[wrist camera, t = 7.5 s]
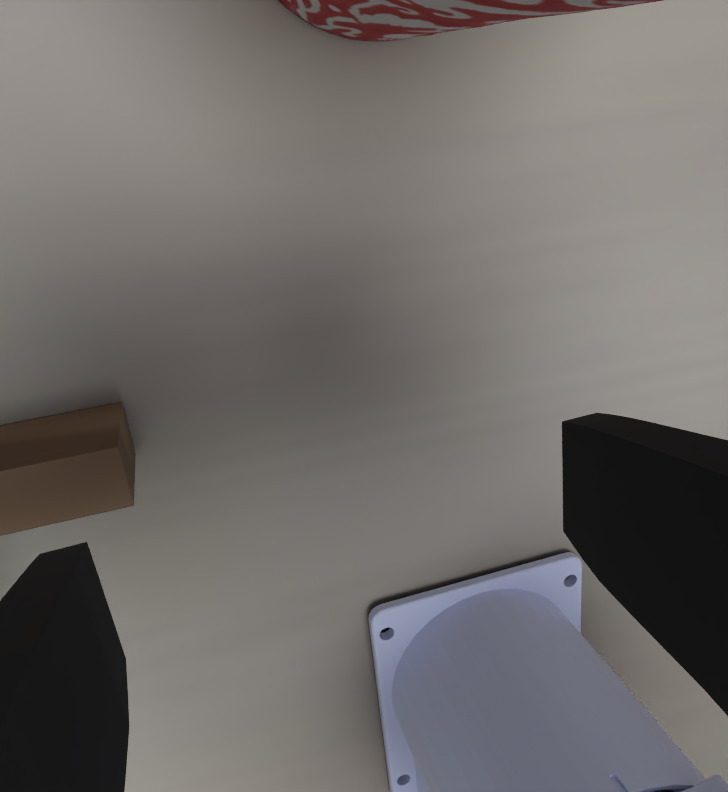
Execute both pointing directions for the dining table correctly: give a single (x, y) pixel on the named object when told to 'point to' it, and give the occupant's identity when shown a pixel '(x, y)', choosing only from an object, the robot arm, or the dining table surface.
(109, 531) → the dining table surface
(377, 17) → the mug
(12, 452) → the rail
